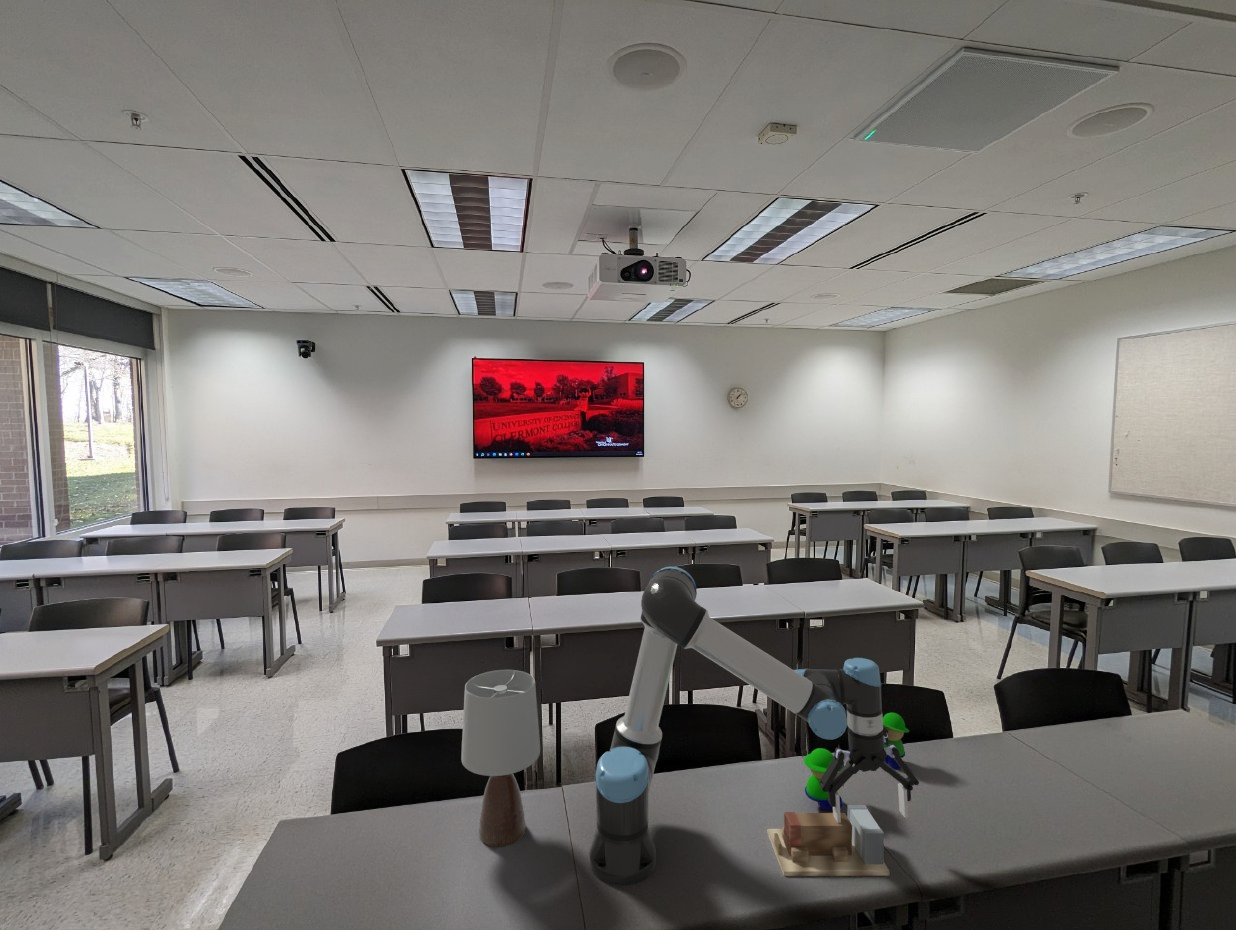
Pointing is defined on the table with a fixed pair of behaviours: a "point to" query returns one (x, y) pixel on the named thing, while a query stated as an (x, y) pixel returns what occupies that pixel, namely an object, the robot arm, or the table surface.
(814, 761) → the toy
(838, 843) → the brown wooden block
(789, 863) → the jig
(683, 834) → the table surface
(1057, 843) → the table surface
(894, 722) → the toy
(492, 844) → the lamp
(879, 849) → the pale blue brick
